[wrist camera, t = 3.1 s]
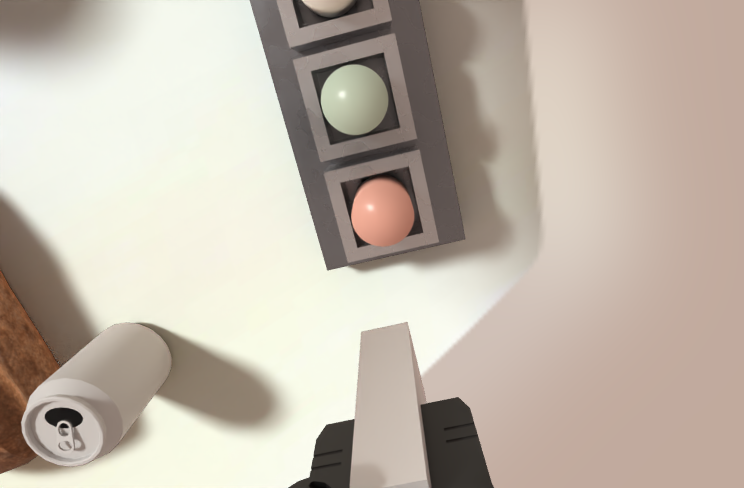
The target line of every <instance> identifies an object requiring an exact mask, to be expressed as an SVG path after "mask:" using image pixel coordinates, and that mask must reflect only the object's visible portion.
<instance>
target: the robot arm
mask: <svg viewBox="0 0 744 488" xmlns="http://www.w3.org/2000/svg"><path fill="white" fill-rule="evenodd" d="M311 469H312V471H311V472H310V477H309V478H306V479H303V480H301V481H298V482H296V483H295V484H293V485H292V486H290V487H289V488H494V487H493V485H492V483H491V479H490V476H489V472H488V469H487V465H486V462H485V458H484V455H483V452H482V448H481V445H480V441H479V438H478V434H477V431H476V428H475V425H474V421H473V417H472V414H471V410H470V408H469V407H468V406H467V405H466V404H465V403H464V402H463V401H462V400H461V399H460V398H458V397H457V398H452V399H447V400H442V401H437V402H432V403H426V398H425V393H424V388H423V385H422V380H421V376H420V372H419V368H418V364H417V359H416V355H415V351H414V347H413V343H412V339H411V335H410V331H409V327H408V322H405V323H401V324H396V325H391V326H387V327H382V328H377V329H372V330H368V331H363V332H361V343H360V356H359V369H358V382H357V396H356V409H355V419H353V420H348V421H343V422H338V423H333V424H328V425H326V426H325V428H324V429H323V431H322V432H321V434H320V435H319V437H318V438H317V439H316V445H315V450H314V458H313V461H312V466H311Z"/></svg>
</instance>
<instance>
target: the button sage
mask: <svg viewBox="0 0 744 488" xmlns="http://www.w3.org/2000/svg"><path fill="white" fill-rule="evenodd" d="M321 106H322V110H323V113H324V115H325V117H326V119H327V120H328V122H329V123H330V124H331V125H332V126H333V127H334V128H336V129H337V130H339V131H340V132H343V133H345V134H350V135H360V134H364V133H367V132H369V131H371V130H373V129H374V128H376V127H377V126H378V125H379V124H380V123H381V121H382V120H383V118H384V116H385V114H386V111H387V108H388V92H387V89H386V86H385V84H384V82H383V80H382V79H381V78H380V76H379V75H378V74H377V73H376V72H374V71H373V70H372V69H370V68H368V67H365V66H362V65H346V66H343V67H341V68H339V69H337V70H336V71H334V72H333V73H332V74H331V75H330V76H329V77H328V78H327V80H326V82H325V84H324V86H323V89H322V93H321Z"/></svg>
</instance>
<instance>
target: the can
mask: <svg viewBox="0 0 744 488" xmlns="http://www.w3.org/2000/svg"><path fill="white" fill-rule="evenodd" d="M171 366H172V357H171V354H170V351H169V348H168V346H167V344H166V343H165V342H164V340H163V339H162V338H161V336H159V335H158V334H157V333H155V332H154V331H153V330H152V329H150V328H147V327H145V326H143V325H140V324H135V323H127V322H126V323H120V324H114V325H112V326H111V327H109V328H107V329H105V330H104V331H102V332H101V333H100V334H99V335H98V336H97V337H95V338H94V339H93V340H92V341H91V342H90V343H88V344H87V345H86V346H85V347H84V348H83V349H81V350H80V351H79V352H78V353H77V354H76V355H74V356H73V357H72V358H71V359H70V360H69V361H68V362H66V363H65V364H64V365H63V366H62V367H61V368H59V369H58V370H57V371H56V372H55V373H54V374H52V375H51V376H50V377H49V378H48V379H47V380H45V381H44V382H43V383H42V384H41V385H40V386H38V387H37V389H36V390H35V391H34V392H33V393H32V394H31V396H30V397H29V401H28V404H27V407H26V411H25V412H24V415H23V418H22V421H21V424H22V433H23V436H24V438H25V440H26V442H27V444H28V445H29V446H30V447H31V449H32V450H33V451H34V452H35V453H36V454H37V455H39V456H40V457H42V458H43V459H45V460H46V461H49V462H52V463H54V464H57V465H62V466H71V467H73V466H80V465H85V464H87V463H89V462H91V461H93V460H94V459H95V458H99V457H101V456H103V455H105V454H107V453H109V452H111V451H112V449H113V448H114V447H115V446H116V445H117V444H118V443H119V442H120V441H121V439H122V438H123V437H124V435H125V434H126V432H127V431H128V430H129V428H130V427H131V426H132V424H133V423H134V422H135V420H136V419H137V418H138V416H139V415H140V414H141V412H142V411H143V410H144V408H145V407H146V406H147V404H148V403H149V402H150V400H151V399H152V398H153V396H154V395H155V394H156V392H157V391H158V390H159V388H160V387H161V385H162V384H163V383H164V381H165V380H166V379H167V377H168V375H169V373H170V370H171Z"/></svg>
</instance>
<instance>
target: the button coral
mask: <svg viewBox="0 0 744 488" xmlns="http://www.w3.org/2000/svg"><path fill="white" fill-rule="evenodd" d="M351 219H352V224H353V227H354V229H355V231H356V233H357V234H358V235H359V237H360V238H362V239H363V240H364V241H365V242H367V243H369V244H371V245H375V246H381V247H384V246H391V245H394V244H396V243H398V242H400V241H402V240H403V239H404V238H405V237H406V236H407V235H408V234H409V232H410V230H411V228H412V226H413V223H414V209H413V206H412V202H411V199H410V196H409V193H408V191H407V189H406V187H405V186H404V185H403V183H402V182H400V181H399V180H398V179H396V178H394V177H392V176H388V175H377V176H373V177H371V178H369V179H367V180H365V181H364V182H363V183H362V184H361V185H360V187H359V188H358V190H357V192H356V194H355V199H354V203H353V208H352V214H351Z"/></svg>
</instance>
